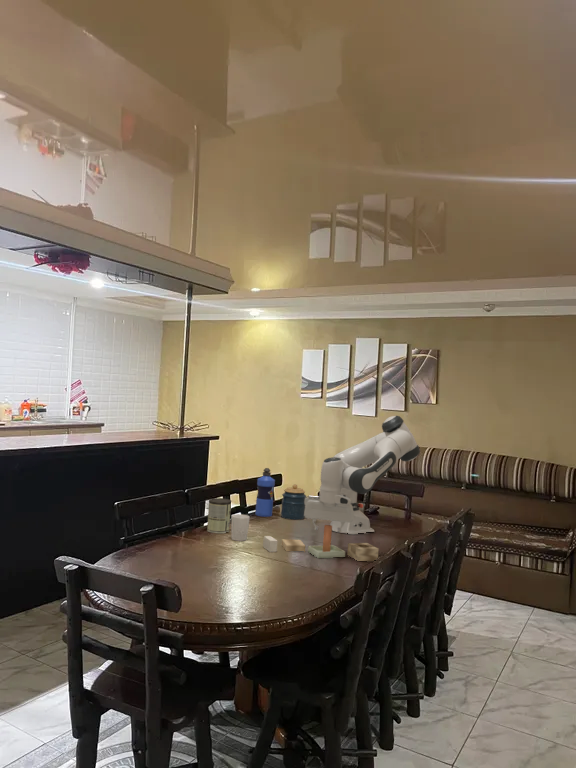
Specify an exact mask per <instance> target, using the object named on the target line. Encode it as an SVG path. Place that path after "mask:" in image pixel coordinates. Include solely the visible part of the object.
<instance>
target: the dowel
mask: <svg viewBox="0 0 576 768" xmlns="http://www.w3.org/2000/svg"><path fill="white" fill-rule="evenodd" d="M323 526H324V528H323V541H322V546H323V552H330V550H331V545H332V537H333V536H332V533H333V531H332V526H331V525H330V524H325V525H323Z"/></svg>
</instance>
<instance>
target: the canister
mask: <svg viewBox="0 0 576 768" xmlns="http://www.w3.org/2000/svg"><path fill="white" fill-rule="evenodd" d="M283 491H284V492H283V493H282V494H281V495H282V500H281V511H280V517H281V518H283V519H287V520H294V521H295V520H303V519H305V516H304V511H305V507H306V506H305V504H304V501H305V498H306V497H307V495H306V494H305V493H306V491H305V490H304V489H303V488H301V487H298V484H293V485H292V486H291V487H287V488H286V489H283Z"/></svg>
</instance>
